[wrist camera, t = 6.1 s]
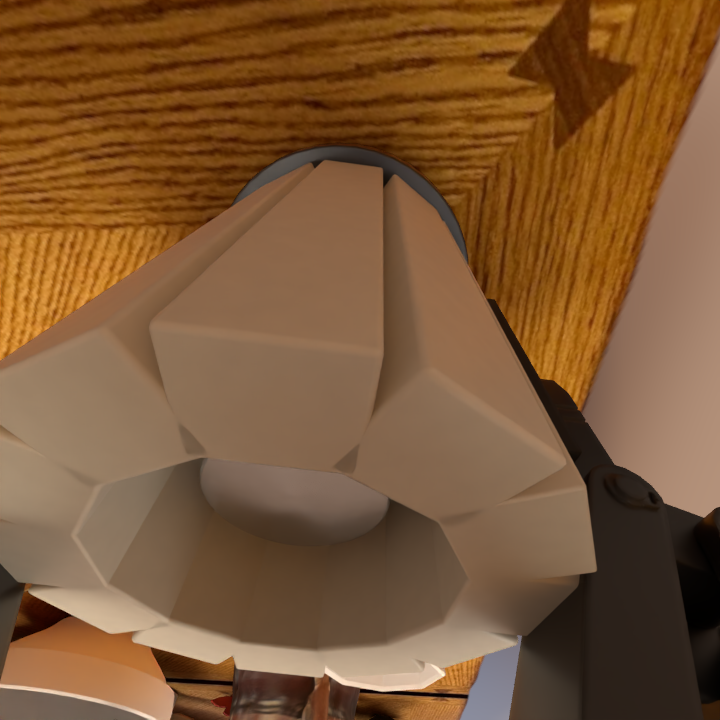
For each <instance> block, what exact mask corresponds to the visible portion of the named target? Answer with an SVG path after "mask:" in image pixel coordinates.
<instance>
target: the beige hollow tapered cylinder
mask: <svg viewBox="0 0 720 720" xmlns="http://www.w3.org/2000/svg"><path fill="white" fill-rule="evenodd" d="M204 458H210V459H219V460H227V461H236V462H244V463H253V464H262V465H270V466H279V467H287V468H296V469H304V470H313V471H322V472H330V473H339V474H343V475H345V476H347V477H349V478H351V479H353V480H355V481H357V482H359V483H361V484H363V485H365V486H367V487H369V488H371V489H373V490H375V491H377V492H379V493H380V494H382V495H384V496H386V497H388V498H390V499H391V500H390V506H389V508H388V511H387V513H386V515H385V517H384V518H383V520H382V521H381V522H380V523H379V524H378V525H377V526H376V527H375V528H374V529H372V530H371V531H370V532H368V533H366V534H365V535H363V536H361V537H359V538H356V539H354V540H351V541H348V542H344V543H340V544H335V545H328V546H294V545H287V544H281V543H277V542H272V541H269V540H265V539H262V538H259V537H256V536H254V535H251V534H249V533H247V532H245V531H243V530H241V529H239V528H237V527H235V526H234V525H232V524H231V523H229V522H228V521H226V520H225V519H224V518H222V517H221V516H220V515H219V514H218V513H217V512H216V511H215V510H214V509H213V508H212V507H211V506H210V504H209V503H208V502H207V500H206V498H205V496H204V495H203V492H202V489H201V486H200V468H201V465H202V462H203V459H204ZM0 564H1V565H2V566H3V567H4V568H5V569H6V570H7V571H8V572H9V573H10V574H11V575H12V576H13V577H14V579H15V580H16V581H17V582H22V583H32V585H31V587H30V588H29V591H28V592H29V593H30V594H31V595H33V596H35V597H37V598H39V599H41V600H43V601H45V602H47V603H49V604H51V605H53V606H55V607H57V608H59V609H61V610H63V611H65V612H67V613H69V614H71V615H73V616H75V617H77V618H79V619H81V620H83V621H85V622H87V623H89V624H91V625H93V626H95V627H97V628H99V629H101V630H103V631H105V632H107V633H109V634H115V633H123V632H130V631H134V632H133V634H132V641H133V642H134V643H138V644H142V645H146V646H149V647H153V648H157V649H160V650H164V651H168V652H171V653H175V654H179V655H182V656H186V657H190V658H193V659H197V660H201V661H205V662H208V663H212V664H219V663H221V662H222V661H224V660H226V659H228V658H229V657H231V656H233V658H234V661H235V665H236V668H237V669H242V670H251V671H261V672H271V673H281V674H290V675H300V676H310V677H320V678H321V677H323V676H324V672H325V667H326V666H327V667H329V668H330V669H331V670H333V671H334V672H335V673H337V674H338V675H339V676H341V677H343V678H344V677H359V676H373V675H387V674H402V673H416V672H422V671H424V668H425V662H426V663H429V664H432V665H435V666H438V667H441V668H445V667H449V666H452V665H455V664H458V663H461V662H464V661H467V660H471V659H474V658H477V657H480V656H483V655H486V654H490V653H493V652H496V651H499V650H502V649H505V648H508V647H512V646H515V645H517V643H518V637H517V635H522V636H527V635H528V634H530V633H531V632H532V631H533V630H534V629H535V628H536V627H537V626H538V625H539V624H540V623H541V622H542V621H543V620H544V619H545V618H546V617H547V616H548V615H549V614H550V613H551V612H552V611H553V610H554V609H555V608H556V607H557V606H558V605H559V604H561V603H562V602H563V601H564V600H565V599H566V598H567V597H568V596H569V595H570V594H571V593H572V592H573V591H574V590H575V589H576V588H577V587H578V585H579V577H580V574H584V573H592V572H596V571H597V565H596V558H595V550H594V542H593V535H592V527H591V519H590V512H589V504H588V497H587V489H586V485H585V483H584V481H583V479H582V477H581V475H580V473H579V471H578V470H577V468H576V466H575V464H574V462H573V460H572V458H571V457H570V455H569V453H568V451H567V449H566V447H565V445H564V443H563V442H562V440H561V438H560V436H559V434H558V432H557V430H556V429H555V427H554V425H553V423H552V421H551V419H550V417H549V415H548V414H547V412H546V410H545V408H544V406H543V404H542V402H541V401H540V399H539V397H538V395H537V393H536V391H535V389H534V387H533V386H532V384H531V382H530V380H529V378H528V376H527V374H526V372H525V371H524V369H523V367H522V365H521V363H520V361H519V359H518V358H517V356H516V354H515V352H514V350H513V348H512V346H511V344H510V343H509V341H508V339H507V337H506V335H505V333H504V331H503V330H502V328H501V326H500V324H499V322H498V320H497V318H496V316H495V315H494V313H493V311H492V309H491V307H490V305H489V303H488V302H487V300H486V298H485V296H484V294H483V292H482V290H481V288H480V287H479V285H478V283H477V281H476V279H475V277H474V275H473V273H472V272H471V270H470V268H469V266H468V264H467V262H466V260H465V259H464V257H463V255H462V253H461V251H460V249H459V247H458V245H457V244H456V242H455V240H454V238H453V236H452V234H451V232H450V231H449V229H448V227H447V225H446V223H445V221H442V219H441V217H440V215H439V213H438V211H437V210H436V209H435V208H434V207H433V206H432V205H431V204H430V203H428V202H427V201H426V200H425V199H424V198H423V197H422V196H420V195H419V194H418V193H417V192H416V191H415V190H413V189H412V188H411V187H410V186H409V185H408V184H407V183H405V182H404V181H403V180H402V179H401V178H400V177H399V176H397V175H395V174H394V175H393V176H392V177H391V178H390V180H389V181H388V183H387V184H386V185H385V187H384V188H383V168H381V167H374V166H367V165H359V164H352V163H345V162H338V161H330V160H324V161H323V162H322V163H320V164H319V165H318V166H317V167H316V168H315V169H314V166H313V164H312V163H307V164H305V165H303V166H301V167H299V168H297V169H295V170H293V171H291V172H289V173H287V174H285V175H283V176H281V177H279V178H278V179H276V180H274V181H272V182H270V183H268V184H266V185H264V186H262V187H260V188H259V189H257V190H256V191H254V192H253V193H251V194H250V195H248V196H247V197H245V198H244V199H242V200H241V201H239V202H238V203H236V204H235V205H233V206H232V207H230V208H229V209H227V210H226V211H224V212H223V213H221V214H220V215H218V216H217V217H215V218H214V219H212V220H211V221H209V222H208V223H206V224H205V225H203V226H202V227H200V228H199V229H197V230H196V231H194V232H193V233H191V234H190V235H188V236H187V237H185V238H184V239H182V240H181V241H179V242H178V243H176V244H175V245H173V246H172V247H170V248H169V249H167V250H166V251H164V252H163V253H161V254H160V255H158V256H157V257H155V258H154V259H152V260H151V261H149V262H148V263H146V264H145V265H143V266H142V267H140V268H139V269H137V270H136V271H134V272H133V273H131V274H130V275H128V276H127V277H125V278H124V279H122V280H121V281H119V282H118V283H116V284H115V285H113V286H112V287H110V288H109V289H107V290H106V291H104V292H103V293H101V294H100V295H98V296H97V297H95V298H94V299H92V300H91V301H89V302H88V303H86V304H85V305H83V306H82V307H80V308H79V309H77V310H76V311H74V312H73V313H71V314H70V315H68V316H67V317H65V318H64V319H62V320H61V321H59V322H58V323H56V324H55V325H53V326H52V327H50V328H49V329H47V330H46V331H44V332H43V333H41V334H40V335H38V336H37V337H35V338H34V339H32V340H31V341H29V342H28V343H26V344H25V345H23V346H22V347H20V348H19V349H17V350H16V351H14V352H13V353H11V354H10V355H8V356H7V357H5V358H4V359H2V360H1V361H0Z"/></svg>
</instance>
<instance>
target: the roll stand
mask: <svg viewBox="0 0 720 720" xmlns="http://www.w3.org/2000/svg"><path fill="white" fill-rule="evenodd" d="M324 160H330V161H338V162H345V163H352V164H359V165H367V166H374V167H381V168H383V188H384V187H385V185H386V184H387V183H388V181H389V180H390V178H391V177H392V176H393V175H394V174H395V175H397V176H399V177H400V178H401V179H402V180H403V181H404V182H405V183H407V184H408V185H409V186H410V187H411V188H412V189H413V190H415V191H416V192H417V193H418V194H419V195H420V196H422V197H423V198H424V199H425V200H426V201H427V202H428V203H430V204H431V205H432V206H433V207H434V208H435V209H436V210H437V211H438V213H439V215H440V217H441V219H442V221H445V223H446V225H447V227H448V229H449V231H450V232H451V234H452V236H453V238H454V240H455V242H456V244H457V245H458V247H459V249H460V251H461V253H462V255H463V257H464V259H465V260H466V262H467V264H468V255H467V249H466V244H465V240H464V237H463V234H462V231H461V228H460V225H459V223H458V221H457V219H456V217H455V215H454V213H453V211H452V209H451V208H450V206H449V205H448V203H447V202H446V200H445V199H444V197H443V196H442V195H441V193H440V192H439V190H438V189H437V188H436V187H435V186H434V185H433V184H432V183H431V182H430V181H429V180H428V179H427V177H426V176H425V175H423V174H422V173H421V172H420V171H418V170H417V169H416V168H414V167H413V166H412V165H410V164H409V163H407V162H405V161H404V160H402V159H400V158H398V157H397V156H395V155H393V154H390V153H388V152H385V151H382V150H380V149H377V148H374V147H369V146H365V145H360V144H352V143H328V144H318V145H314V146H310V147H306V148H302V149H299V150H297V151H295V152H292V153H290V154H288V155H285V156H283V157H281V158H279V159H278V160H276V161H274V162H273V163H271V164H270V165H268V166H266V167H265V168H263V169H262V170H261V171H260V172H259V173H257V174H256V175H255V176H254V177H253V178H252V179H250V180H249V181H248V183H247V184H246V185H245V186H244V187H243V189H242V190H241V191H240V192H239V193H238V195H237V197H236V198H235V200H234V202H233V203H232V205H231V207H232V206H233V205H235V204H236V203H238V202H239V201H241V200H242V199H244V198H245V197H247V196H248V195H250V194H251V193H253V192H254V191H256V190H257V189H259V188H260V187H262V186H264V185H266V184H268V183H270V182H272V181H274V180H276V179H278V178H279V177H281V176H283V175H285V174H287V173H289V172H291V171H293V170H295V169H297V168H299V167H301V166H303V165H305V164H307V163H312V164H313V166H314V169H315V168H316V167H317V166H318V165H319V164H320V163H322V162H323V161H324ZM200 486H201V489H202V492H203V495H204V496H205V498H206V500H207V502H208V503H209V504H210V506H211V507H212V508H213V509H214V510H215V511H216V512H217V513H218V514H219V515H220V516H221V517H222V518H224V519H225V520H226V521H228V522H229V523H231V524H232V525H234V526H235V527H237V528H239V529H241V530H243V531H245V532H247V533H249V534H251V535H254V536H256V537H259V538H262V539H265V540H269V541H272V542H277V543H281V544H287V545H294V546H328V545H335V544H340V543H344V542H348V541H351V540H354V539H356V538H359V537H361V536H363V535H365V534H366V533H368V532H370V531H371V530H372V529H374V528H375V527H376V526H377V525H378V524H379V523H380V522H381V521H382V520H383V518H384V517H385V515H386V513H387V511H388V508H389V506H390V500H391V499H390V498H388V497H386V496H384V495H382V494H380V493H379V492H377V491H375V490H373V489H371V488H369V487H367V486H365V485H363V484H361V483H359V482H357V481H355V480H353V479H351V478H349V477H347V476H345V475H343V474H339V473H330V472H322V471H313V470H304V469H296V468H287V467H279V466H270V465H262V464H253V463H244V462H236V461H227V460H219V459H210V458H204V459H203V462H202V465H201V468H200Z"/></svg>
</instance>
